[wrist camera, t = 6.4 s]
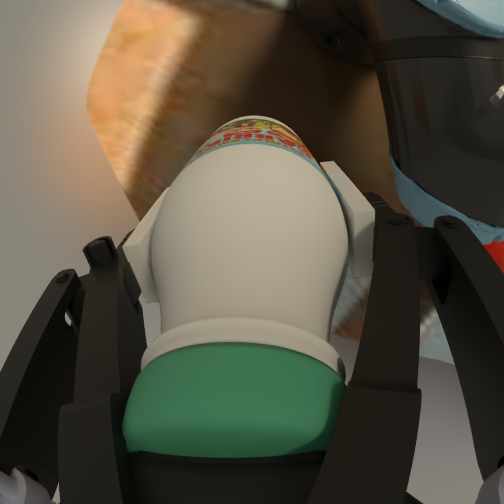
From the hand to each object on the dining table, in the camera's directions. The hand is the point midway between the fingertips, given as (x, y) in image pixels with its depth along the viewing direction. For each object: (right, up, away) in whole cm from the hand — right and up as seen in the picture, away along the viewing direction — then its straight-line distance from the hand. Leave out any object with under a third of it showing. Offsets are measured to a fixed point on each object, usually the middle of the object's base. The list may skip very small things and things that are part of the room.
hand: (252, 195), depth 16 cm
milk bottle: (0, +3, +5) cm, 6 cm away
